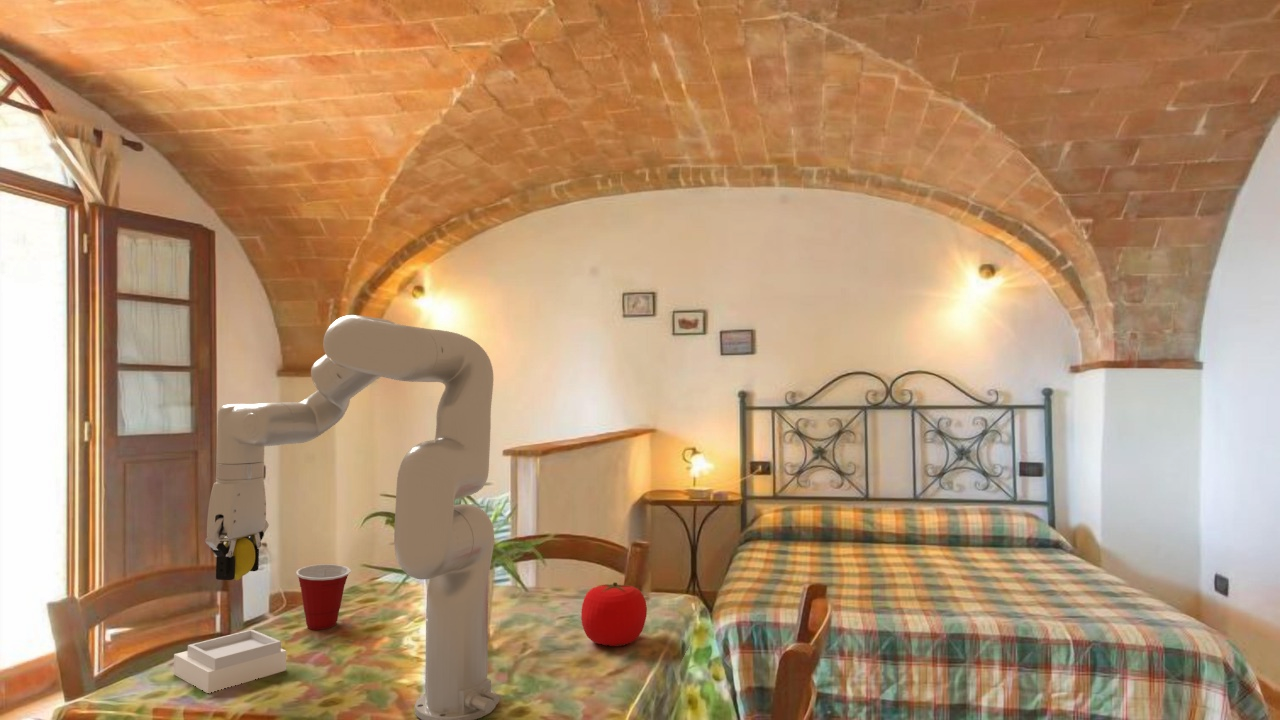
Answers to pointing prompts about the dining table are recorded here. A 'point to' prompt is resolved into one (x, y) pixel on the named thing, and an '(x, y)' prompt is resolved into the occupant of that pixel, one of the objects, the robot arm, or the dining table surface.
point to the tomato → (613, 614)
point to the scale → (230, 660)
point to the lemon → (243, 556)
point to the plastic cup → (322, 593)
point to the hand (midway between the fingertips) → (237, 573)
